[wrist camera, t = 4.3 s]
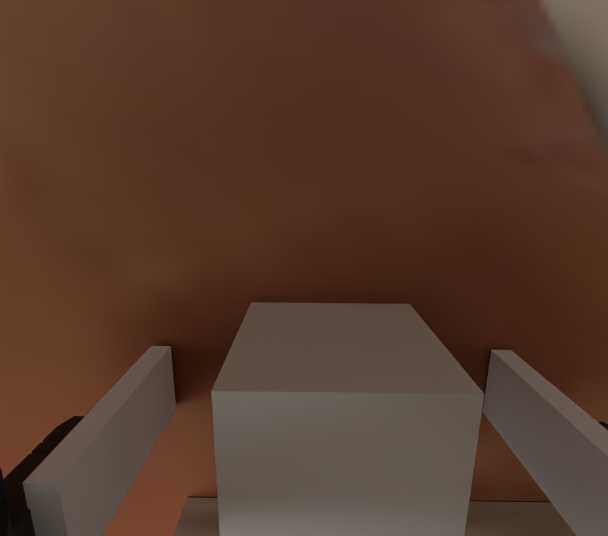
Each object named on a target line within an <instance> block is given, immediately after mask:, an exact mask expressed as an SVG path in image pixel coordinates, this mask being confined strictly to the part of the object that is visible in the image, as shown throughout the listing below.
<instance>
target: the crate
mask: <svg viewBox="0 0 608 536" xmlns="http://www.w3.org/2000/svg"><path fill="white" fill-rule="evenodd" d="M173 536H220V528H219V512H218V498H187V500H186V503H185V506H184V508H183V511H182V514H181V516H180V519H179V522H178V524H177V527H176V530H175V532H174V535H173ZM464 536H576V535H575V533H574V532H573V531H572V529H571V528H570V527H569V525H568V524H567V523H566V521H565V520H564V519H563V517H562V516H561V515H560V513H559V512H558V511H557V509H556V508H555V507H554V506H553V504H552V503H551V502H480V501H469V506H468V513H467V520H466V527H465V534H464Z"/></svg>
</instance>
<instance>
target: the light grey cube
mask: <svg viewBox="0 0 608 536" xmlns="http://www.w3.org/2000/svg"><path fill="white" fill-rule="evenodd" d="M211 394H212V411H213V428H214V445H215V461H216V478H217V495H218V512H219V528H220V536H464V534H465V527H466V520H467V513H468V506H469V499H470V492H471V485H472V478H473V471H474V464H475V457H476V449H477V442H478V435H479V428H480V421H481V414H482V407H483V400H484V393H483V392H482V390H481V389H480V388H479V387H478V386H477V384H476V383H475V382H474V381H473V380H472V378H471V377H470V376H469V375H468V374H467V372H466V371H465V370H464V369H463V368H462V366H461V365H460V364H459V363H458V362H457V360H456V359H455V358H454V357H453V356H452V354H451V353H450V352H449V351H448V350H447V348H446V347H445V346H444V345H443V344H442V342H441V341H440V340H439V339H438V338H437V336H436V335H435V334H434V333H433V331H432V330H431V329H430V328H429V327H428V325H427V324H426V323H425V322H424V321H423V319H422V318H421V317H420V316H419V315H418V313H417V312H416V311H415V310H414V309H413V307H412V306H411V305H410V304H366V303H261V302H251V304H250V306H249V308H248V310H247V312H246V315H245V317H244V319H243V321H242V324H241V326H240V328H239V330H238V333H237V335H236V337H235V339H234V342H233V344H232V346H231V348H230V351H229V353H228V355H227V357H226V359H225V362H224V364H223V366H222V368H221V371H220V373H219V375H218V377H217V380H216V382H215V384H214V386H213V389H212V391H211Z"/></svg>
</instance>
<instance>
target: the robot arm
mask: <svg viewBox="0 0 608 536" xmlns="http://www.w3.org/2000/svg"><path fill="white" fill-rule="evenodd" d="M175 409H176V402H175V390H174V378H173V366H172V354H171V346H151V347H150V348H149V349H148V350H147V351H146V352H145V353H144V354H143V355H142V356H141V357H140V358H139V360H138V361H137V362H136V363H135V364H134V365H133V366H132V367H131V368H130V369H129V370H128V371H127V372H126V373H125V374H124V375H123V377H122V378H121V379H120V380H119V381H118V382H117V383H116V384H115V385H114V386H113V387H112V388H111V389H110V390H109V391H108V392H107V394H106V395H105V396H104V397H103V398H102V399H101V400H100V401H99V402H98V403H97V404H96V405H95V406H94V407H93V408H92V409H91V411H90V412H89V413H88V414H87V415H86V416H74V417H72V418H71V419H69V420H67V421H66V422H64V423H62V424H61V425H59V426H58V427H56V428H55V429H54V430H53V431H52V432H51V433H50V434H49V435H48V436H47V437H46V438H45V439H44V440H43V443H40V444H39V445H38V446H37V447H36V448H35V449H34V450H33V451H32V453H31V454H29V455H28V456H27V457H26V458H25V459H24V460H23V461H22V462H21V463H19V464H18V465H17V466H16V467H15V468H14V469H13V470H12V471H11V472H10V473H9V474H8V475H7V476H6V477H5V478H4V479H3V475H2V471H1V468H0V536H103V534H104V532H105V531H106V529H107V527H108V525H109V524H110V522H111V520H112V519H113V517H114V515H115V513H116V512H117V510H118V508H119V506H120V505H121V503H122V501H123V499H124V498H125V496H126V494H127V492H128V491H129V489H130V487H131V485H132V484H133V482H134V480H135V479H136V477H137V475H138V473H139V472H140V470H141V468H142V466H143V465H144V463H145V461H146V459H147V458H148V456H149V454H150V452H151V451H152V449H153V447H154V445H155V444H156V442H157V440H158V439H159V437H160V435H161V433H162V432H163V430H164V428H165V426H166V425H167V423H168V421H169V419H170V418H171V416H172V414H173V412H174V411H175ZM483 413H484V414H485V416H486V417H487V418H488V420H489V421H490V422H491V424H492V425H493V426H494V428H495V429H496V430H497V432H498V433H499V434H500V436H501V437H502V438H503V440H504V441H505V442H506V444H507V445H508V446H509V447H510V449H511V450H512V451H513V453H514V454H515V455H516V457H517V458H518V459H519V461H520V462H521V463H522V465H523V466H524V467H525V469H526V470H527V471H528V473H529V474H530V475H531V476H532V478H533V479H534V480H535V482H536V483H537V484H538V486H539V487H540V488H541V490H542V491H543V492H544V494H545V495H546V496H547V498H548V499H549V500H550V502H551V503H552V504H553V506H554V507H555V508H556V509H557V511H558V512H559V513H560V515H561V516H562V517H563V519H564V520H565V521H566V523H567V524H568V525H569V527H570V528H571V529H572V531H573V532H574V533H575V535H576V536H608V424H606V423H604V422H597V421H596V420H595V419H593V418H592V417H591V416H590V415H589V414H587V413H586V412H585V411H584V410H583V409H581V408H580V407H579V406H578V405H577V404H575V403H574V402H573V401H572V400H571V399H569V398H568V397H567V396H566V395H565V394H563V393H562V392H561V391H560V390H558V389H557V388H556V387H555V386H554V385H552V384H551V383H550V382H549V381H548V380H546V379H545V378H544V377H543V376H542V375H540V374H539V373H538V372H537V371H536V370H534V369H533V368H532V367H531V366H530V365H528V364H527V363H526V362H525V361H524V360H522V359H521V358H520V357H519V356H518V355H516V354H515V353H514V352H513V351H512V350H491V355H490V362H489V370H488V377H487V384H486V391H485V398H484V405H483Z"/></svg>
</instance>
